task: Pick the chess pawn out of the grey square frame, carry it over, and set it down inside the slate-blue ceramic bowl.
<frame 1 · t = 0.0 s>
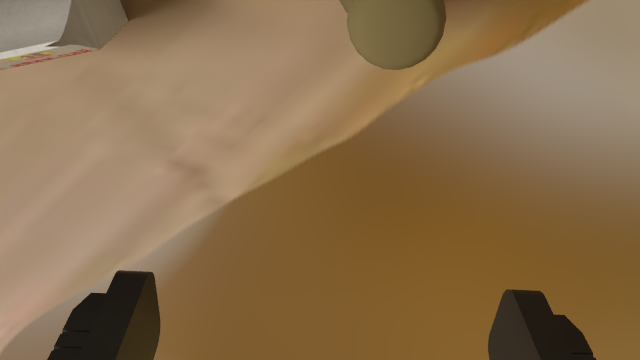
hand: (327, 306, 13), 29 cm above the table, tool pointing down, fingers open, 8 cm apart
grey house block: (73, 3, 38), on the table
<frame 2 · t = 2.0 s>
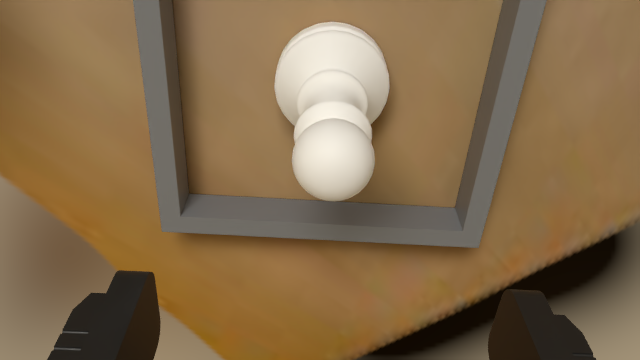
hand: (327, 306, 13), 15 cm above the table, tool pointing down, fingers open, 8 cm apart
grey square frame: (331, 75, 25), on the table
chess pawn: (331, 73, 25), resting in grey square frame
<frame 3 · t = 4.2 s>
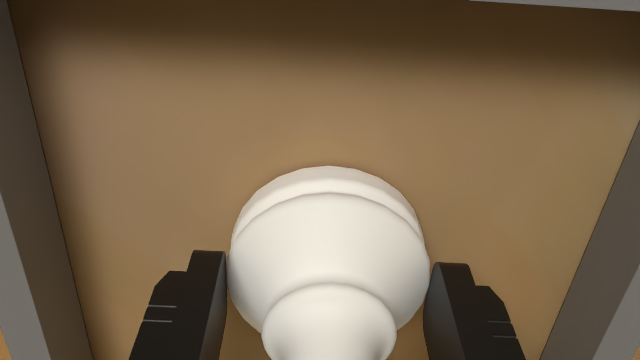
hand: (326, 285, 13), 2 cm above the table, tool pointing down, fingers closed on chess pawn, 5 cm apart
grey square frame: (327, 242, 15), on the table
chess pawn: (327, 237, 15), resting in grey square frame, touching gripper
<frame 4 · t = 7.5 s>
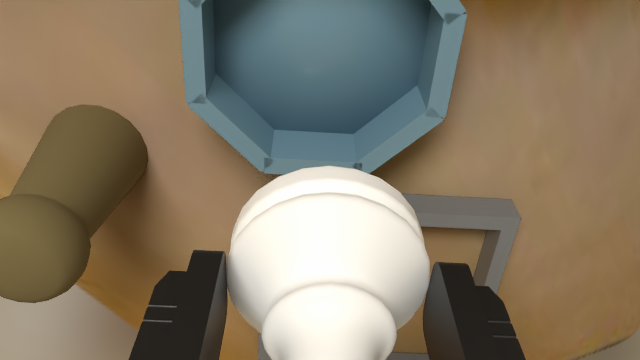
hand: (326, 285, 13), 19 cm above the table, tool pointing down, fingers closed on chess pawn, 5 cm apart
grey square frame: (373, 285, 39), on the table
chess pawn: (326, 237, 15), point 17 cm above the table, touching gripper
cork: (98, 148, 33), on the table
bowl: (320, 33, 29), on the table
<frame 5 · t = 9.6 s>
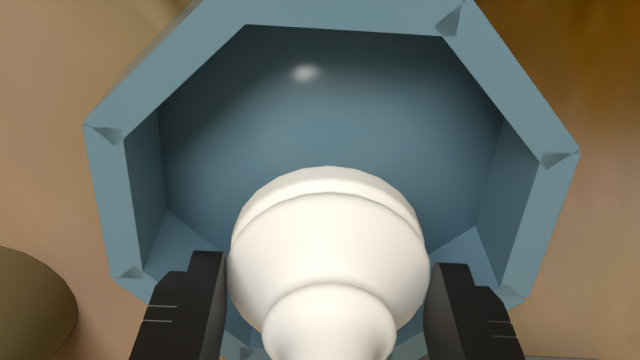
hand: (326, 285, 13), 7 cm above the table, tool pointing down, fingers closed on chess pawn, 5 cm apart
chess pawn: (326, 237, 15), point 5 cm above the table, touching gripper
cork: (6, 296, 23), on the table
bowl: (326, 151, 19), on the table
when the fingers open (4 cm above the table, at t = 11.2 s): chess pawn drops 1 cm, resting on bowl.
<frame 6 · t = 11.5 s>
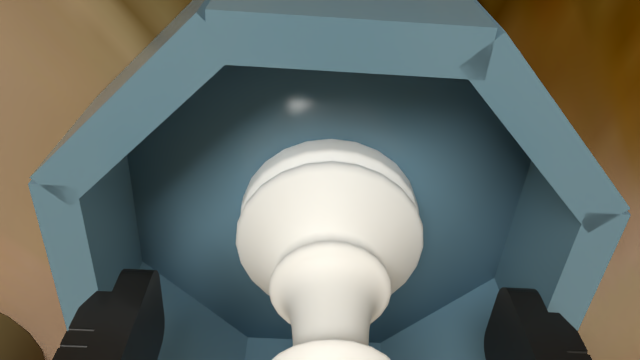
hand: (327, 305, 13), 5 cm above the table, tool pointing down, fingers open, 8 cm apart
chess pawn: (329, 207, 16), point 1 cm above the table, touching bowl
bowl: (325, 194, 17), on the table
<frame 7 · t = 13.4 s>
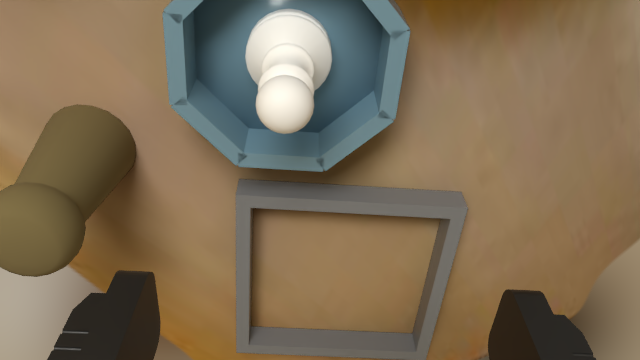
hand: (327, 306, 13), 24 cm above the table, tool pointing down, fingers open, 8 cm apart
grey square frame: (340, 269, 44), on the table
chess pawn: (289, 48, 33), point 1 cm above the table, touching bowl
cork: (91, 143, 37), on the table
bowl: (288, 44, 34), on the table
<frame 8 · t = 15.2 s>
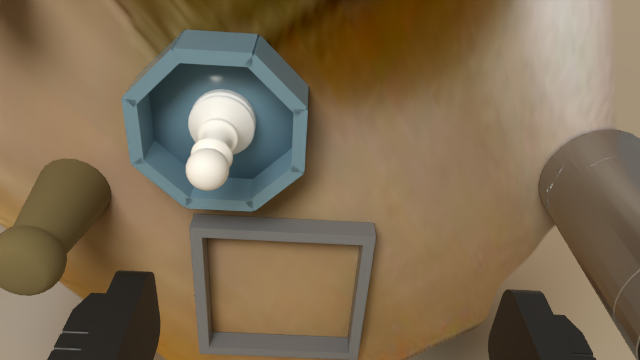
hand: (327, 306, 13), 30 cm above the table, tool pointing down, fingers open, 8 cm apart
grey square frame: (282, 284, 53), on the table
chess pawn: (224, 116, 43), point 1 cm above the table, touching bowl
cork: (76, 187, 47), on the table
bowl: (224, 113, 43), on the table
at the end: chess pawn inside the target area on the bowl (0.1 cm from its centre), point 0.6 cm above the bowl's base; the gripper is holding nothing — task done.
